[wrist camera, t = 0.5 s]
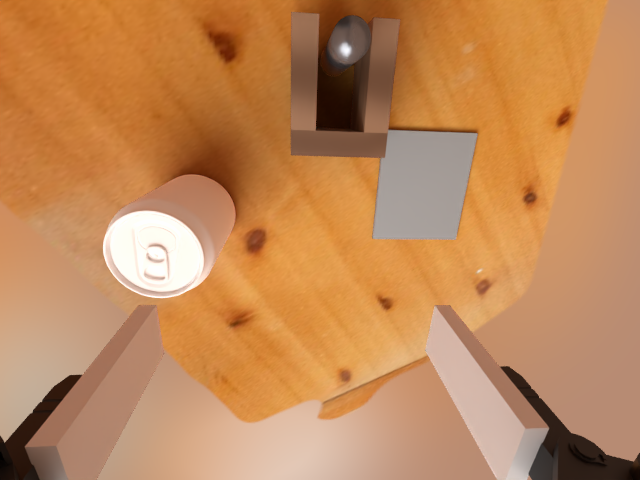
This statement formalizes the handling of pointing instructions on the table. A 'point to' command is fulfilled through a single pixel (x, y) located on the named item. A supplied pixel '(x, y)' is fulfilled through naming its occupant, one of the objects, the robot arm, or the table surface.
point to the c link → (367, 94)
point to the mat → (422, 184)
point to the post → (345, 45)
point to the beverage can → (169, 236)
